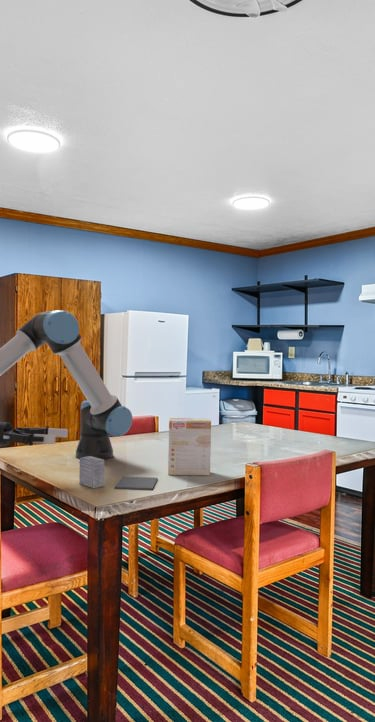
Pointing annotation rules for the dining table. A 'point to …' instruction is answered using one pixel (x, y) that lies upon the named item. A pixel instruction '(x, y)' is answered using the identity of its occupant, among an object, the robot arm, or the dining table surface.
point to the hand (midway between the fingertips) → (61, 436)
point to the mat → (136, 483)
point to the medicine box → (92, 472)
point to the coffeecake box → (189, 446)
